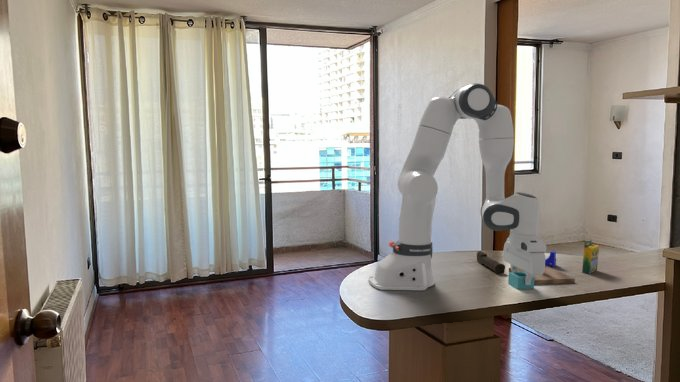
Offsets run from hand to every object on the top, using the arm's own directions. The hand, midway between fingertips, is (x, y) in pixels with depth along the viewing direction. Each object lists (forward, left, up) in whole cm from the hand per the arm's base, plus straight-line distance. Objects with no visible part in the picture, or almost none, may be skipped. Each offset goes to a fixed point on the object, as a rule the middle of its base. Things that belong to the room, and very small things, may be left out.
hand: (521, 281), depth 166 cm
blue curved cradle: (+23, +26, -2) cm, 34 cm away
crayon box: (+36, +13, -2) cm, 38 cm away
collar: (0, 0, -2) cm, 2 cm away
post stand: (+13, +9, -2) cm, 16 cm away
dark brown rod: (0, +24, -2) cm, 24 cm away
